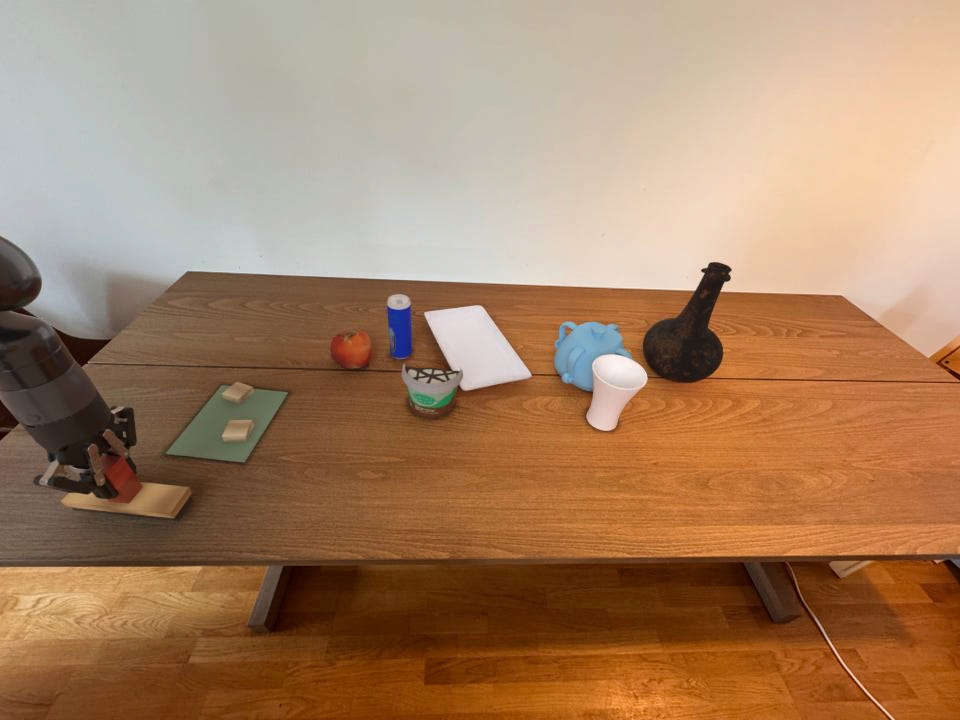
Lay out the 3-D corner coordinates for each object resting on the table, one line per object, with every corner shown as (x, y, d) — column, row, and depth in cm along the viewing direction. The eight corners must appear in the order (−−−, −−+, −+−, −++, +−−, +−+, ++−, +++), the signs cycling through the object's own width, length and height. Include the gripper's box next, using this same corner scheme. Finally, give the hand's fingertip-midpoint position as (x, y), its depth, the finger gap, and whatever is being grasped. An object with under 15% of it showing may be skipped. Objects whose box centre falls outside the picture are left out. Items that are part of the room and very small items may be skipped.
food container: (397, 420, 84) (395, 383, 78) (403, 398, 89) (401, 362, 83) (459, 425, 84) (461, 388, 78) (461, 403, 89) (463, 367, 83)
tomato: (380, 367, 96) (377, 339, 91) (340, 380, 92) (335, 351, 87) (365, 346, 102) (362, 318, 97) (327, 356, 98) (322, 328, 93)
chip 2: (247, 441, 77) (245, 435, 76) (224, 442, 76) (221, 436, 75) (254, 425, 80) (252, 419, 79) (231, 425, 79) (229, 420, 78)
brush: (195, 498, 66) (171, 457, 60) (177, 524, 62) (150, 483, 56) (94, 487, 66) (60, 445, 60) (71, 512, 62) (32, 470, 56)
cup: (627, 409, 92) (648, 361, 83) (625, 444, 84) (647, 395, 75) (580, 396, 94) (595, 349, 85) (573, 429, 86) (589, 380, 78)
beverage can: (388, 348, 102) (385, 294, 93) (410, 345, 103) (408, 292, 94) (392, 361, 98) (388, 306, 89) (413, 358, 100) (412, 304, 90)
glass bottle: (667, 400, 95) (721, 292, 78) (621, 353, 108) (658, 251, 91) (725, 386, 101) (788, 282, 83) (675, 343, 114) (720, 245, 96)
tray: (480, 313, 117) (481, 303, 115) (531, 386, 95) (534, 375, 93) (422, 322, 112) (422, 311, 110) (461, 402, 90) (462, 390, 87)
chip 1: (240, 405, 84) (237, 399, 83) (223, 399, 85) (221, 393, 84) (254, 392, 87) (252, 386, 86) (238, 387, 88) (236, 381, 87)
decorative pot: (550, 350, 107) (560, 304, 98) (613, 357, 106) (629, 312, 98) (552, 393, 94) (564, 344, 86) (624, 402, 94) (643, 354, 85)
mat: (244, 462, 74) (244, 462, 73) (165, 454, 74) (165, 453, 74) (288, 392, 88) (288, 392, 88) (222, 385, 88) (221, 385, 88)
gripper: (73, 360, 56) (129, 445, 67) (-36, 440, 45) (52, 527, 56) (129, 366, 56) (176, 450, 67) (33, 448, 45) (108, 533, 55)
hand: (119, 485), depth 61 cm, fingers closed on brush, 3 cm apart
